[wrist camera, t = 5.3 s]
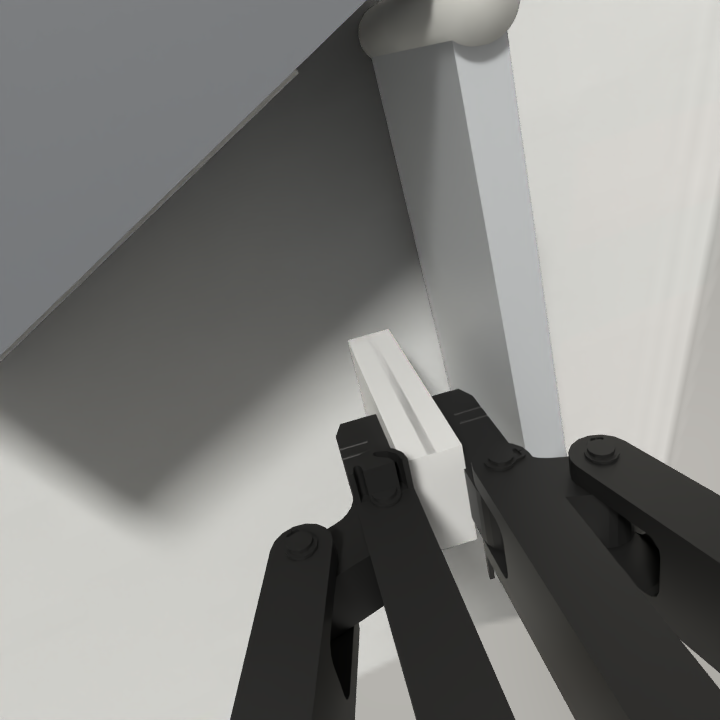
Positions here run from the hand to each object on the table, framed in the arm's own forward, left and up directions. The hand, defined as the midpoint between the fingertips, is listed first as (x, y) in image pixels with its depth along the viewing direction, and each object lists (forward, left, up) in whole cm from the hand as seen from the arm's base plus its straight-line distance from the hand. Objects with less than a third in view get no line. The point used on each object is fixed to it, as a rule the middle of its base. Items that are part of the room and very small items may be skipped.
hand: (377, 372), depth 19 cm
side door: (+4, +1, -2) cm, 5 cm away
